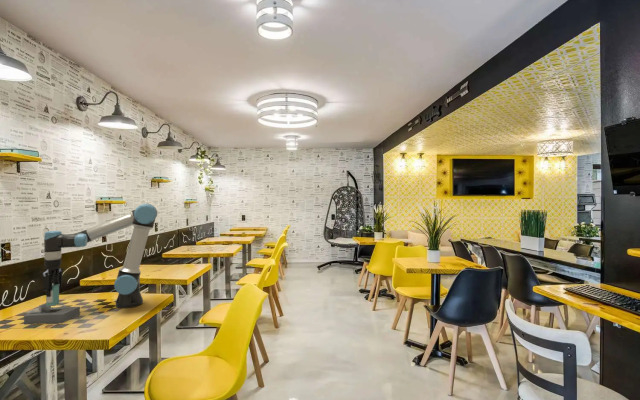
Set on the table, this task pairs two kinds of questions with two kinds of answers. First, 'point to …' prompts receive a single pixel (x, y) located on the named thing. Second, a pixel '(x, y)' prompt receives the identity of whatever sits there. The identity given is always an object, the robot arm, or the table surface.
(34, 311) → the shutter
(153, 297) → the table surface
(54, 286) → the plug
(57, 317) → the socket
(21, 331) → the table surface
